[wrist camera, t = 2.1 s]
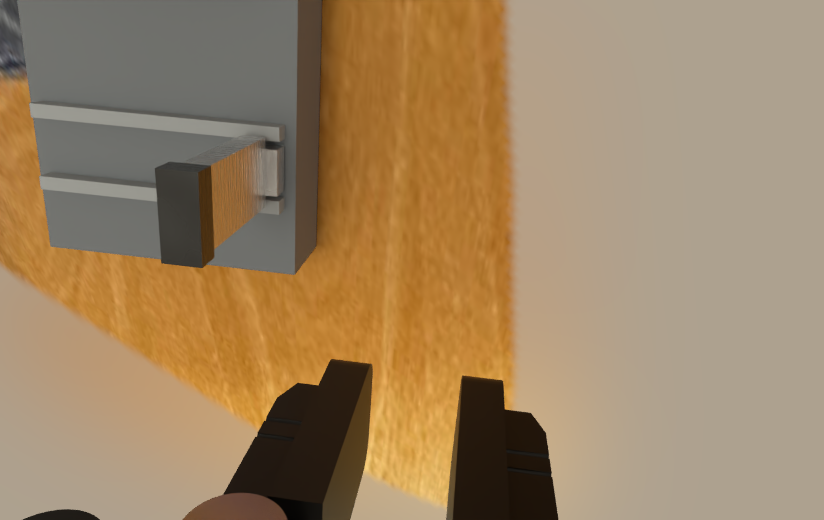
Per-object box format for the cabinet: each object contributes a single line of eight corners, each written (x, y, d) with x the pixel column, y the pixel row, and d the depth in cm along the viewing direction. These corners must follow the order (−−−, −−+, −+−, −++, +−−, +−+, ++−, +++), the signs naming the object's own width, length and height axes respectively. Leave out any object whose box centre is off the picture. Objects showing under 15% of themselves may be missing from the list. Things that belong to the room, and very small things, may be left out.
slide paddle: (238, 127, 27) (145, 167, 20) (284, 132, 27) (207, 173, 20) (240, 199, 28) (152, 262, 21) (283, 203, 28) (211, 269, 21)
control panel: (51, -225, 27) (-45, -280, 22) (327, -210, 26) (290, -263, 21) (98, 222, 34) (34, 255, 29) (316, 246, 33) (287, 284, 28)
